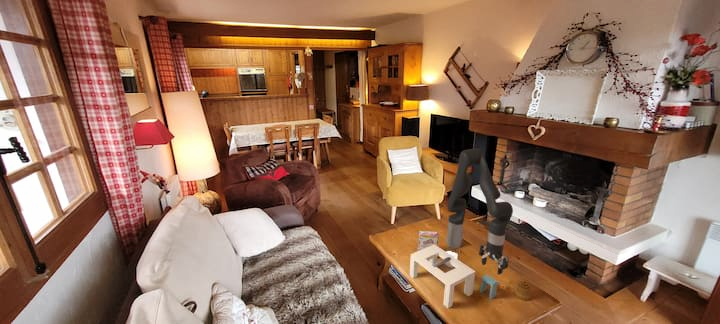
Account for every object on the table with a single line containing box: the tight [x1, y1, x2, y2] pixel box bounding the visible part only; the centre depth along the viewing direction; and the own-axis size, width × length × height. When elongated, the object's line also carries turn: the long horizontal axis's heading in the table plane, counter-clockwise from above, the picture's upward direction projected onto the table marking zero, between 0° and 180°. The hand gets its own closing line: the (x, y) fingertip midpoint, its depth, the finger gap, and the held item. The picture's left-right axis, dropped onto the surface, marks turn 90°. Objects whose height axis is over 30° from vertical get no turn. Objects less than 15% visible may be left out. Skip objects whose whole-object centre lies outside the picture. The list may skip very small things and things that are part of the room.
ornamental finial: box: [513, 280, 532, 301], centre depth 146 cm, size 8×8×8 cm
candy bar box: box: [417, 230, 439, 251], centre depth 176 cm, size 11×5×16 cm, turn 84°
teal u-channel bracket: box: [479, 274, 499, 300], centre depth 147 cm, size 4×6×9 cm, turn 31°
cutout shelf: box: [409, 244, 476, 309], centre depth 153 cm, size 18×28×15 cm, turn 31°
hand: (491, 268), depth 144 cm, fingers open, 8 cm apart
